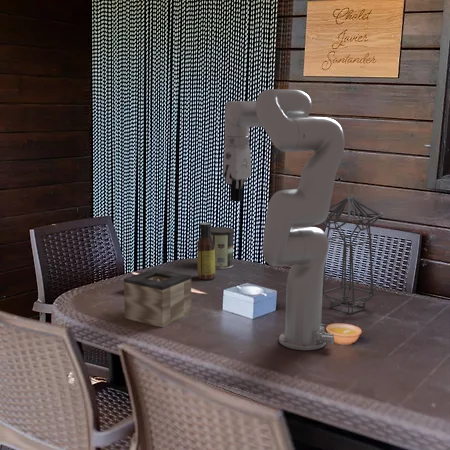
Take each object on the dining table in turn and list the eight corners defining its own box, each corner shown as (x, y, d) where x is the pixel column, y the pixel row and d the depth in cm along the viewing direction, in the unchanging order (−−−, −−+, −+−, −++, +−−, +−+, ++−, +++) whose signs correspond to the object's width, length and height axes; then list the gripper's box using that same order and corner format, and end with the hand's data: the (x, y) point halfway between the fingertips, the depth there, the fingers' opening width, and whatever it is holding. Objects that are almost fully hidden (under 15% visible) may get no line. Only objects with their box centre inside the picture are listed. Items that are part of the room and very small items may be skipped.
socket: (191, 314, 206) (191, 275, 204) (162, 327, 195) (162, 286, 192) (154, 305, 214) (153, 268, 211) (124, 318, 202) (124, 278, 200)
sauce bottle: (218, 277, 246) (219, 222, 242) (208, 281, 240) (209, 225, 236) (203, 274, 249) (203, 220, 245) (193, 278, 244) (193, 223, 240)
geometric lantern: (350, 320, 203) (352, 203, 196) (311, 307, 215) (312, 197, 208) (383, 308, 213) (387, 197, 206) (344, 297, 225) (346, 191, 218)
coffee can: (224, 261, 268) (225, 225, 266) (238, 267, 260) (239, 230, 257) (201, 264, 263) (201, 228, 260) (214, 270, 255) (215, 233, 252)
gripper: (234, 144, 203) (233, 205, 207) (259, 141, 215) (258, 198, 219) (213, 142, 207) (212, 202, 211) (238, 139, 219) (237, 196, 223)
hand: (235, 200), depth 215 cm, fingers closed
